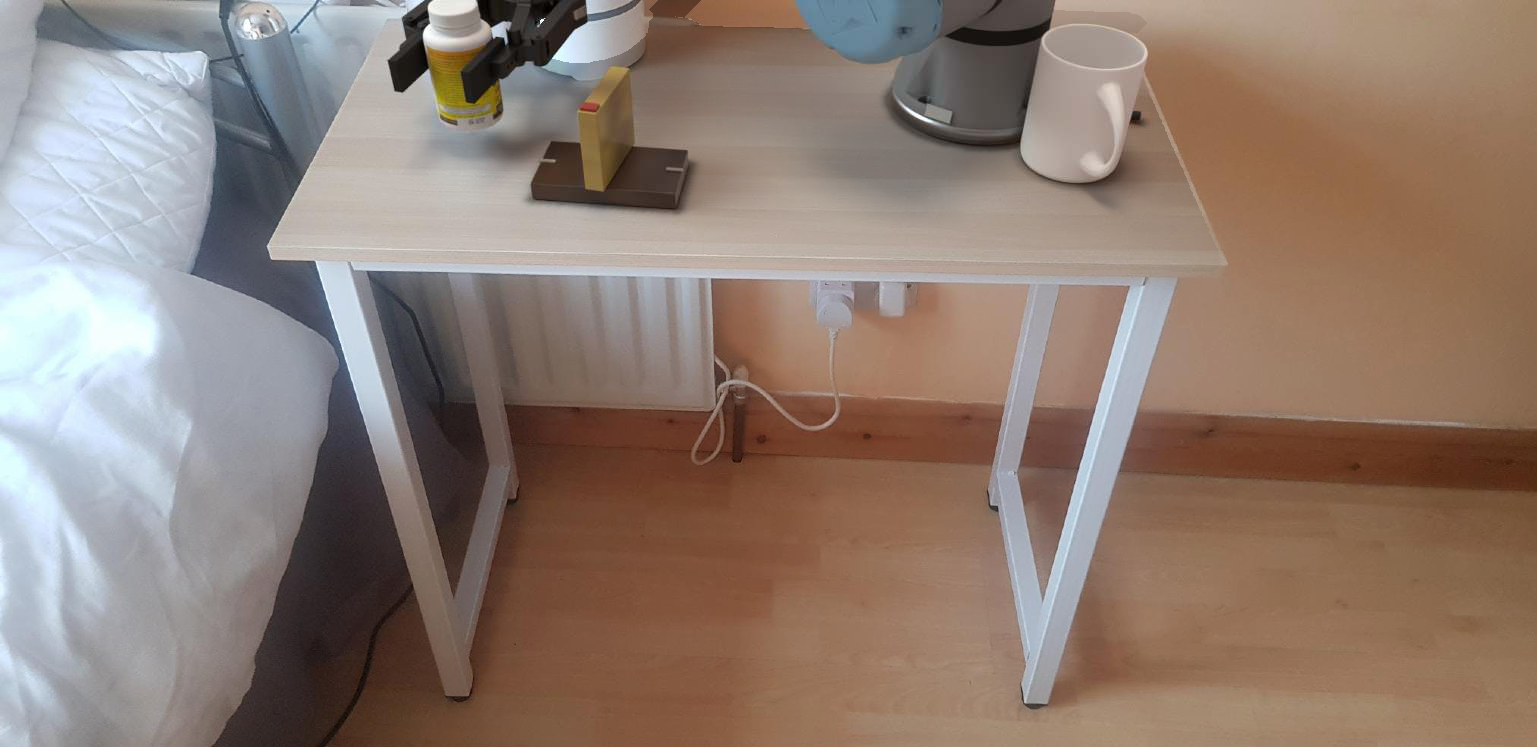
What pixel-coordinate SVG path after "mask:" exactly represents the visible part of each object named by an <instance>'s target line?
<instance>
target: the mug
mask: <svg viewBox="0 0 1537 747" xmlns="http://www.w3.org/2000/svg"><path fill="white" fill-rule="evenodd" d="M1148 57H1149V52H1148V49H1147V47H1146V45H1145V44H1144V42H1142V41H1141V40H1140V39H1139V38H1137V37H1135V36H1134V35H1132V34H1131V33H1128V32H1126V31H1123V30H1122V29H1121V30H1120V29H1117V28H1114V27H1111V26H1106V25H1100V24H1092V23H1070V24H1063V25H1059V26H1056V27H1052V28H1050V30H1049V31H1047V32H1046V33H1045V34H1044V35H1043V37H1042V39H1041V43H1040V48H1039V53H1038V58H1037V63H1036V68H1035V73H1034V78H1033V83H1032V88H1031V93H1030V98H1029V103H1028V108H1027V113H1026V118H1025V123H1024V128H1023V133H1022V138H1021V140H1020V154H1021V157H1022V159H1023V162H1024V163H1025V164H1026V165H1027V166H1028V168H1030V169H1031V170H1032V171H1033V172H1035V173H1037V174H1038V175H1041V176H1042V177H1045V178H1047V179H1050V180H1054V181H1058V182H1063V183H1070V184H1086V183H1087V184H1088V183H1093V182H1096V181H1100V180H1102V179H1104V178H1107V177H1108V176H1109V175H1110V174H1112V173H1113V172H1114V171H1115V169H1116V167H1117V165H1118V163H1119V162H1120V159H1121V155H1122V152H1123V149H1124V148H1123V147H1124V145H1125V141H1126V137H1127V134H1128V130H1129V126H1130V122H1131V120H1130V119H1131V116H1132V112H1133V111H1134V109H1135V104H1136V101H1137V98H1138V97H1137V96H1138V94H1139V90H1140V86H1141V83H1142V78H1143V75H1144V71H1145V68H1146V64H1147V61H1148Z"/></svg>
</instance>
